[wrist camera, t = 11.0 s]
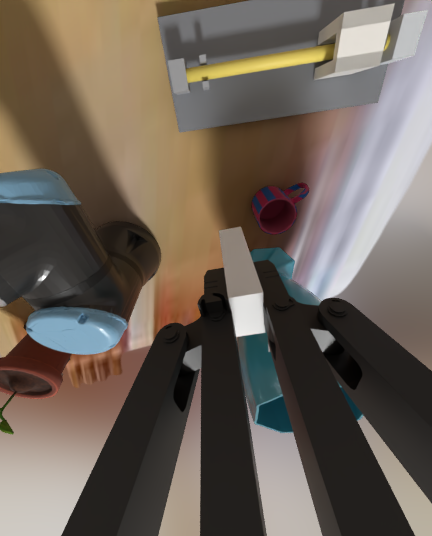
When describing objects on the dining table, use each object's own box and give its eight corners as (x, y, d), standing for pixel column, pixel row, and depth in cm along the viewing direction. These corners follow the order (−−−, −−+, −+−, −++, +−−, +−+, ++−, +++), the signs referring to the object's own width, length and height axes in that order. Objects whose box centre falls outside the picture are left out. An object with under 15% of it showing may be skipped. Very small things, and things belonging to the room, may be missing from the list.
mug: (245, 199, 41) (250, 212, 35) (293, 167, 37) (307, 175, 32) (261, 225, 44) (268, 241, 38) (306, 197, 41) (321, 210, 35)
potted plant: (103, 332, 64) (53, 432, 44) (69, 359, 72) (14, 453, 52) (44, 302, 56) (-51, 407, 36) (13, 336, 64) (-78, 436, 44)
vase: (306, 239, 46) (412, 376, 22) (293, 296, 56) (356, 433, 32) (228, 243, 46) (247, 383, 22) (230, 299, 57) (243, 437, 32)
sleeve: (313, 80, 29) (334, 72, 24) (319, 32, 26) (344, 12, 21) (350, 74, 29) (379, 65, 24) (359, 25, 26) (394, 3, 21)
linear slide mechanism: (180, 131, 34) (175, 134, 29) (159, 21, 27) (148, 1, 22) (371, 103, 32) (399, 100, 27) (402, -23, 25) (448, -56, 20)
